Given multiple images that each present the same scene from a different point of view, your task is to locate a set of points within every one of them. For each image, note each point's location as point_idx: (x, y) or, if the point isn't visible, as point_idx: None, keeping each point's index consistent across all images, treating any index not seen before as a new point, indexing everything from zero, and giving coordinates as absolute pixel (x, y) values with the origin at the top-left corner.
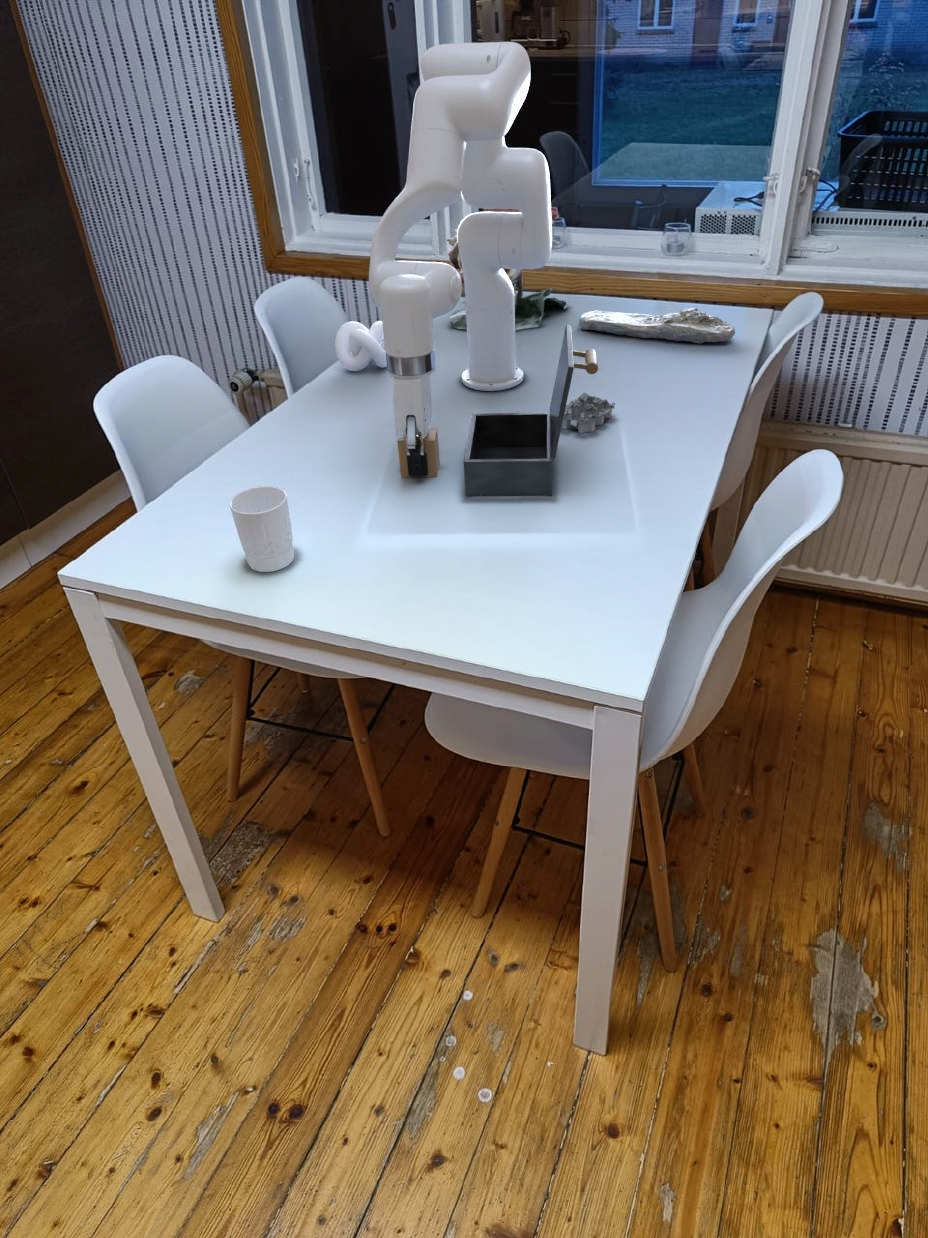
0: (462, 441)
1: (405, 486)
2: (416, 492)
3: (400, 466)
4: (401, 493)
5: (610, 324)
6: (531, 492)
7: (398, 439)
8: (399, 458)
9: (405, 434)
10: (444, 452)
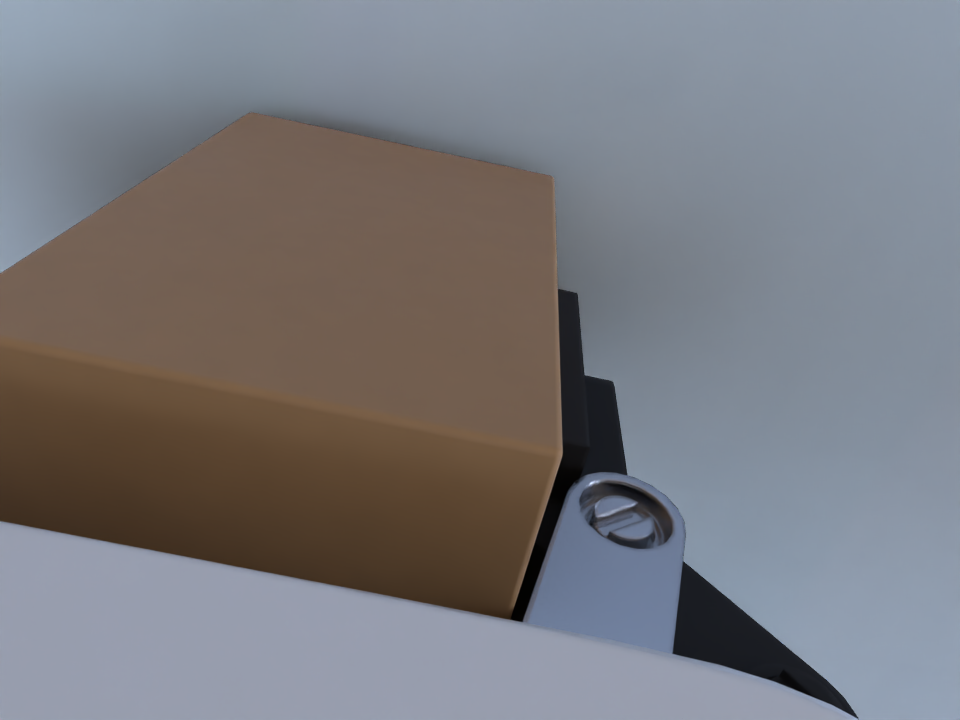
0: (913, 655)
1: (159, 132)
2: (45, 227)
3: (194, 153)
4: (7, 78)
5: None
6: None
7: (2, 354)
8: (134, 188)
9: (265, 502)
10: (776, 525)
